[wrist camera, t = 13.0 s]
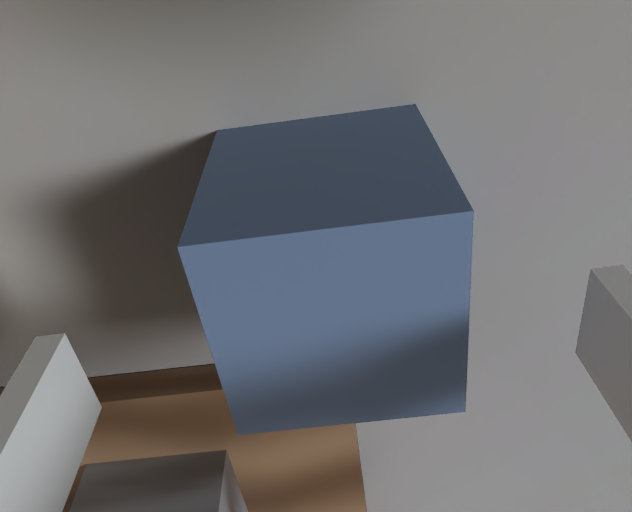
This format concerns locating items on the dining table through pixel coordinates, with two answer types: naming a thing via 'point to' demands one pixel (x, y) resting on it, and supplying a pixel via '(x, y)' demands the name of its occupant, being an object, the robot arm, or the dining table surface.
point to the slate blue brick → (332, 271)
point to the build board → (206, 454)
